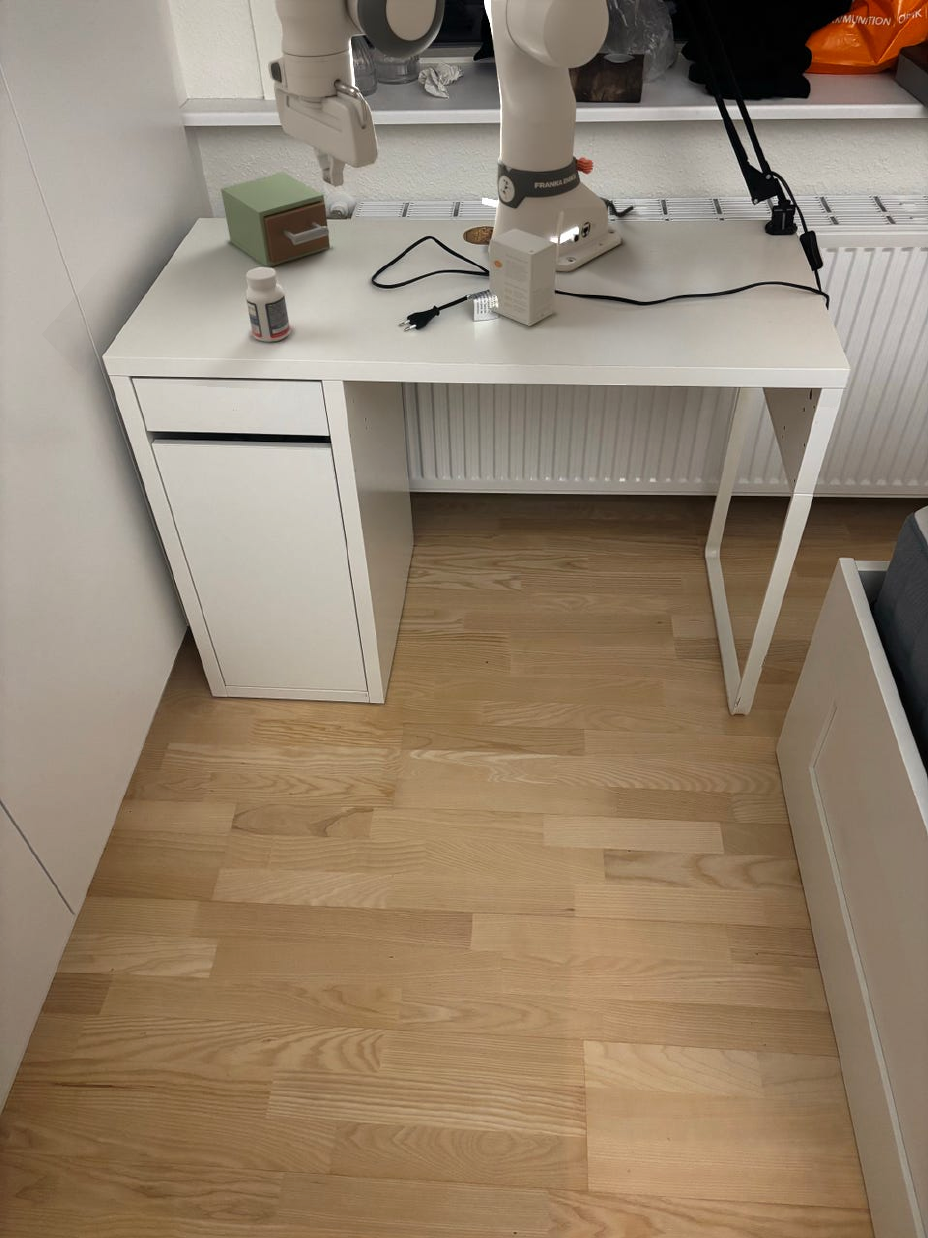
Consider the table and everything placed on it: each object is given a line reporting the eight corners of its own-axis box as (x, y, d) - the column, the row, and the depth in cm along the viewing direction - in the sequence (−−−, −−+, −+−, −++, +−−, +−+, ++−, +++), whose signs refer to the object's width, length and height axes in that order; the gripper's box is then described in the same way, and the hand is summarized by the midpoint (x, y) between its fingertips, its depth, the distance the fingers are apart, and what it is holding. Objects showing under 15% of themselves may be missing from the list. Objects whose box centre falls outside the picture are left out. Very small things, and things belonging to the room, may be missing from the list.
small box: (554, 314, 134) (559, 242, 127) (529, 327, 131) (532, 254, 124) (513, 297, 138) (515, 226, 131) (487, 310, 135) (488, 238, 128)
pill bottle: (294, 325, 132) (285, 265, 126) (285, 343, 129) (276, 282, 122) (258, 324, 133) (247, 263, 126) (248, 341, 129) (237, 280, 123)
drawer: (343, 254, 147) (339, 211, 142) (286, 272, 143) (280, 228, 138) (294, 224, 156) (288, 182, 151) (239, 239, 152) (231, 197, 147)
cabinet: (329, 248, 151) (323, 194, 145) (267, 267, 146) (258, 212, 140) (291, 224, 158) (283, 171, 152) (230, 241, 153) (220, 188, 147)
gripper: (384, 85, 115) (393, 198, 125) (301, 52, 127) (315, 158, 137) (341, 95, 113) (354, 210, 122) (261, 61, 124) (278, 168, 134)
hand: (333, 182), depth 130 cm, fingers closed
